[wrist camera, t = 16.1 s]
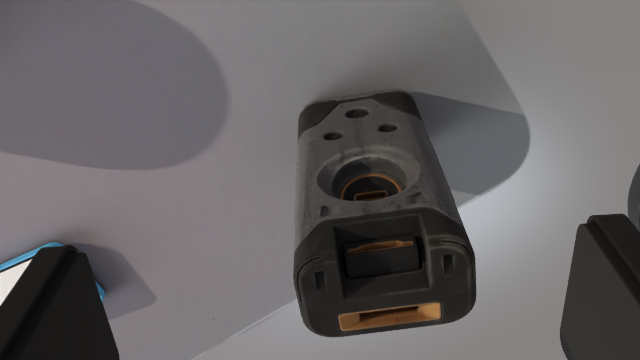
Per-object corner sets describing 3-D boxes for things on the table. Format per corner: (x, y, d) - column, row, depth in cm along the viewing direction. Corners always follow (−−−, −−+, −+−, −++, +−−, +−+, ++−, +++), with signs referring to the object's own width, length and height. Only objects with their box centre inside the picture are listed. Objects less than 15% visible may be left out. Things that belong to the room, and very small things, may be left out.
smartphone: (-75, 301, 55) (54, 244, 52) (-68, 292, 56) (60, 236, 53) (-18, 353, 59) (107, 303, 55) (-12, 344, 60) (111, 294, 56)
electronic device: (413, 84, 46) (476, 235, 29) (419, 151, 49) (478, 324, 32) (294, 102, 47) (287, 260, 30) (307, 167, 50) (307, 346, 33)
